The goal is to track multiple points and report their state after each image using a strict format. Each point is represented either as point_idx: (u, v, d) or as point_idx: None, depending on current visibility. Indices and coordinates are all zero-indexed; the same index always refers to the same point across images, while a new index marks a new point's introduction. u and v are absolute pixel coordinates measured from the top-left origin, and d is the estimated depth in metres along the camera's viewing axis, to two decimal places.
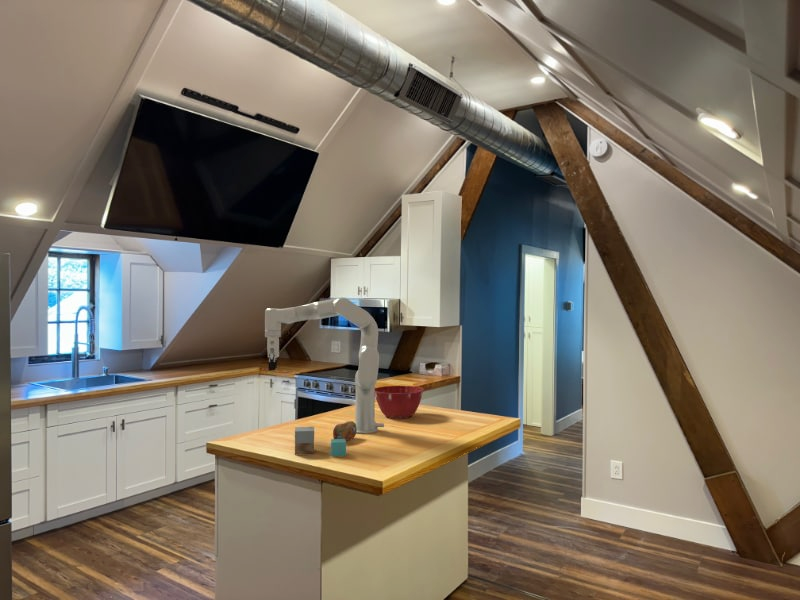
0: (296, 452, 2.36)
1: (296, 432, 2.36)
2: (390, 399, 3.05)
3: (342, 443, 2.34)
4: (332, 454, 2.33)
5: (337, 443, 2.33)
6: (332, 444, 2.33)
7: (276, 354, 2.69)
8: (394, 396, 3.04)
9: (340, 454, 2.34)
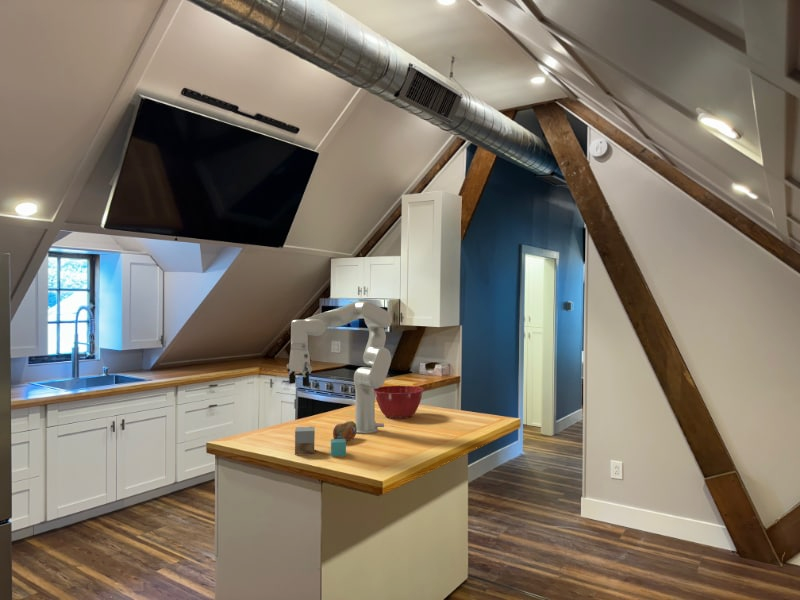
0: (296, 452, 2.36)
1: (296, 432, 2.36)
2: (390, 399, 3.05)
3: (342, 443, 2.34)
4: (332, 454, 2.33)
5: (337, 443, 2.33)
6: (332, 444, 2.33)
7: None
8: (394, 396, 3.04)
9: (340, 454, 2.34)
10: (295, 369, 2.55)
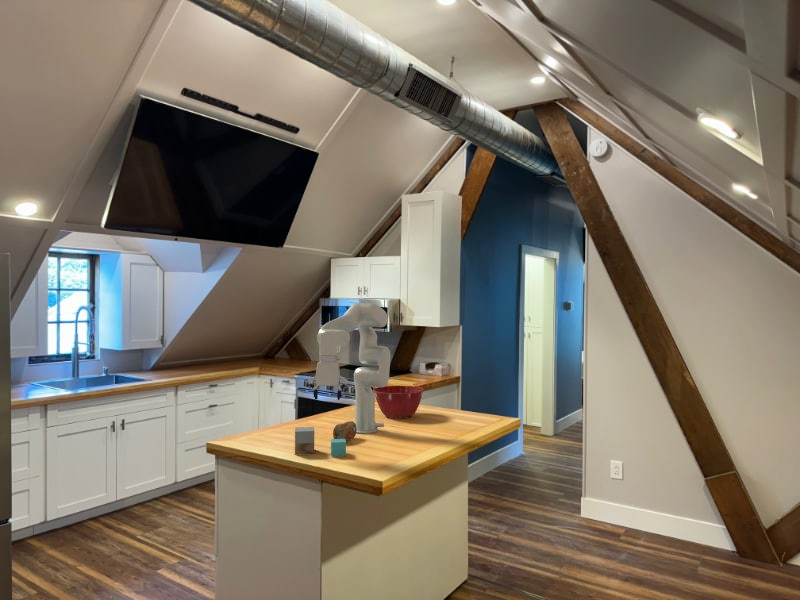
0: (296, 452, 2.36)
1: (296, 432, 2.36)
2: (390, 399, 3.05)
3: (342, 443, 2.34)
4: (332, 454, 2.33)
5: (337, 443, 2.33)
6: (332, 444, 2.33)
7: None
8: (394, 396, 3.04)
9: (340, 454, 2.34)
10: (327, 383, 2.39)
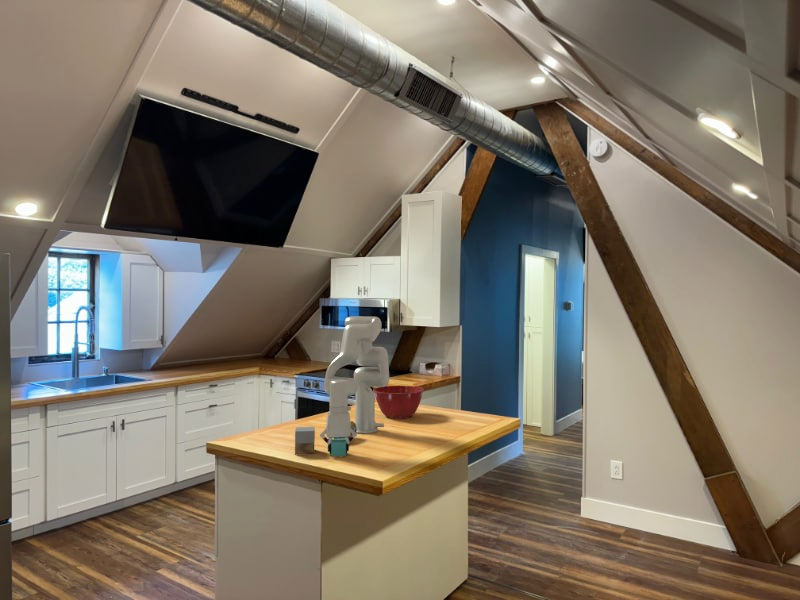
0: (296, 452, 2.36)
1: (296, 432, 2.36)
2: (390, 399, 3.05)
3: (342, 443, 2.34)
4: (332, 454, 2.33)
5: (337, 443, 2.33)
6: (332, 444, 2.33)
7: None
8: (394, 396, 3.04)
9: (340, 454, 2.33)
10: (338, 435, 2.34)
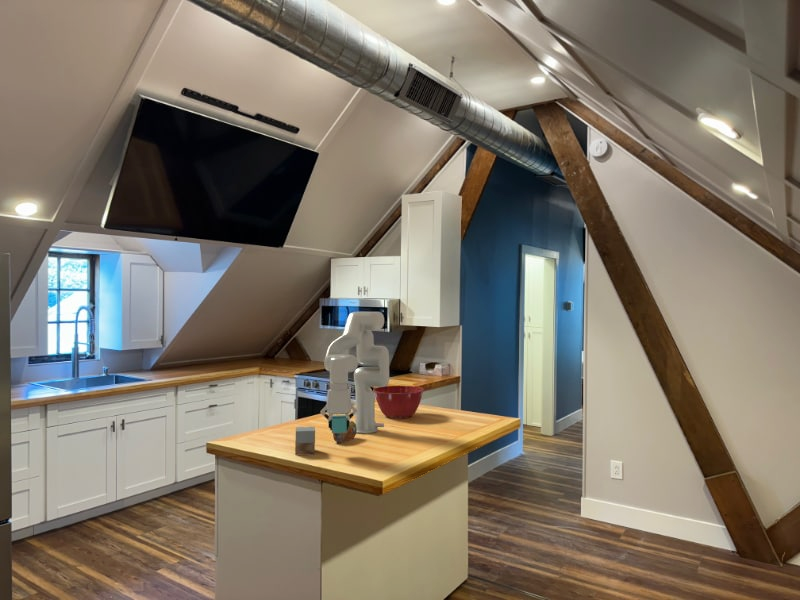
0: (296, 452, 2.36)
1: (297, 432, 2.36)
2: (390, 399, 3.05)
3: (343, 419, 2.34)
4: (332, 430, 2.34)
5: (338, 419, 2.34)
6: (333, 420, 2.34)
7: None
8: (394, 396, 3.04)
9: (341, 430, 2.34)
10: (339, 411, 2.35)
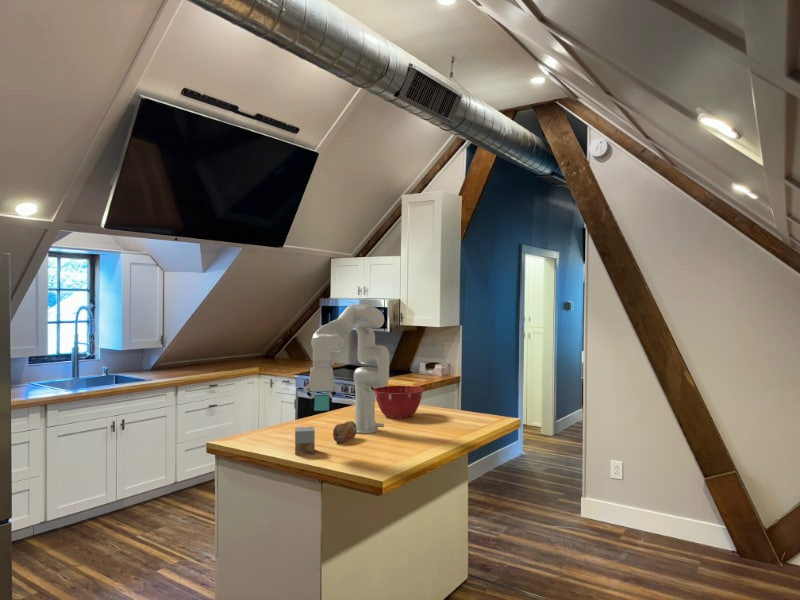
0: (296, 452, 2.36)
1: (296, 432, 2.36)
2: (390, 399, 3.05)
3: (325, 397, 2.36)
4: (315, 408, 2.35)
5: (320, 397, 2.35)
6: (315, 398, 2.35)
7: None
8: (394, 396, 3.04)
9: (323, 408, 2.36)
10: (322, 389, 2.36)
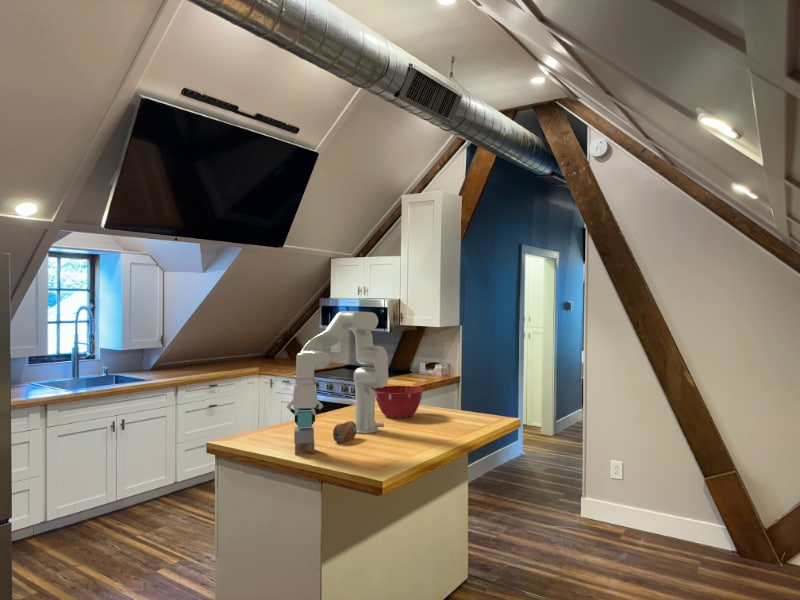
0: (296, 452, 2.36)
1: (296, 432, 2.36)
2: (390, 399, 3.05)
3: (308, 414, 2.37)
4: (298, 425, 2.37)
5: (303, 414, 2.37)
6: (298, 415, 2.37)
7: None
8: (394, 396, 3.04)
9: (306, 424, 2.37)
10: (305, 406, 2.38)
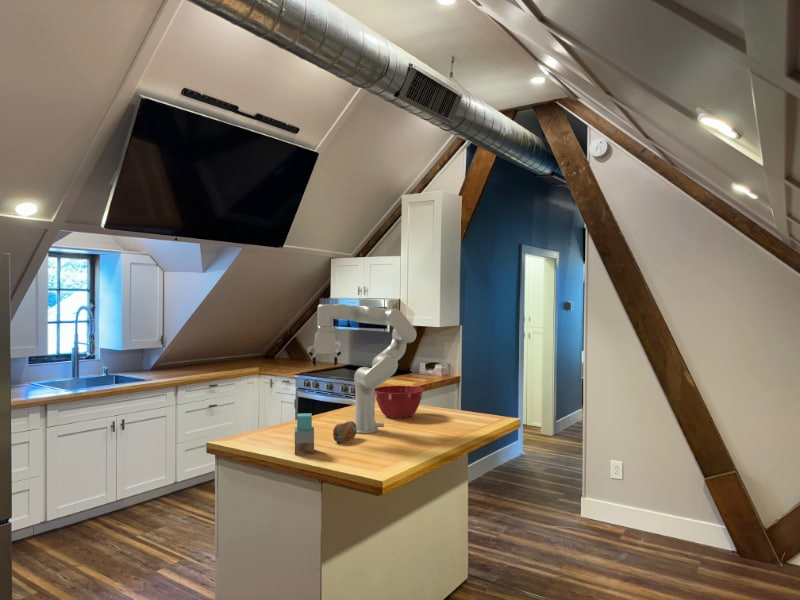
0: (296, 452, 2.36)
1: (296, 432, 2.36)
2: (390, 399, 3.05)
3: (308, 417, 2.37)
4: (297, 428, 2.37)
5: (303, 417, 2.37)
6: (298, 418, 2.37)
7: None
8: (394, 396, 3.04)
9: (306, 428, 2.37)
10: (325, 351, 2.69)
